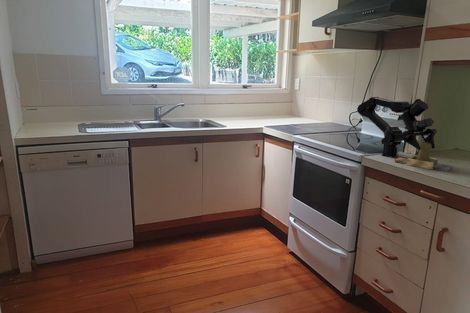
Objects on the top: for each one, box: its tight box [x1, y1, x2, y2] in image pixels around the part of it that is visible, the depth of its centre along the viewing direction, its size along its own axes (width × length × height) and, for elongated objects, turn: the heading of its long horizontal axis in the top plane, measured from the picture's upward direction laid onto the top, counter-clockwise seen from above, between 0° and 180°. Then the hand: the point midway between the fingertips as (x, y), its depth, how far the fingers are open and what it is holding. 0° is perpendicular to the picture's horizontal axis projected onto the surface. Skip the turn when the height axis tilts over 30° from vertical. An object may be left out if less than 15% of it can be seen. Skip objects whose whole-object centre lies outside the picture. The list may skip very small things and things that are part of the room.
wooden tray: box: [394, 155, 452, 172], centre depth 165 cm, size 23×11×3 cm, turn 49°
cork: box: [416, 141, 432, 162], centre depth 164 cm, size 6×6×11 cm
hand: (427, 148), depth 162 cm, fingers open, 9 cm apart
